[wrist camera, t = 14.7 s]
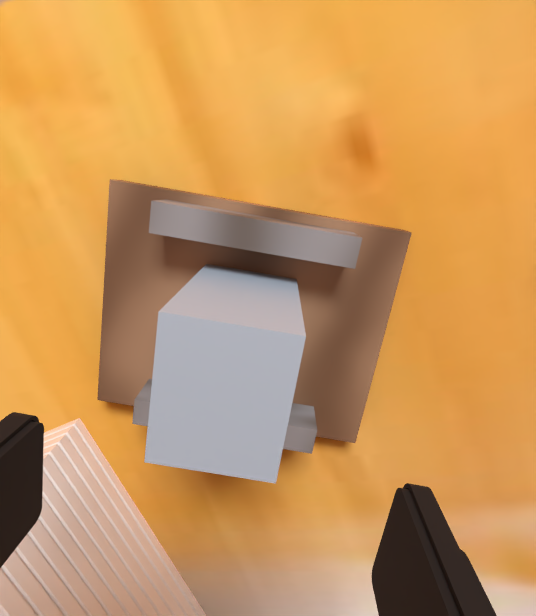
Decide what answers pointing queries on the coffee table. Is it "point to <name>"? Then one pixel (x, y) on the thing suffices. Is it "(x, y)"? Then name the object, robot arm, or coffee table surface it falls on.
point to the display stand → (256, 258)
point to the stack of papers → (89, 544)
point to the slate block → (226, 373)
